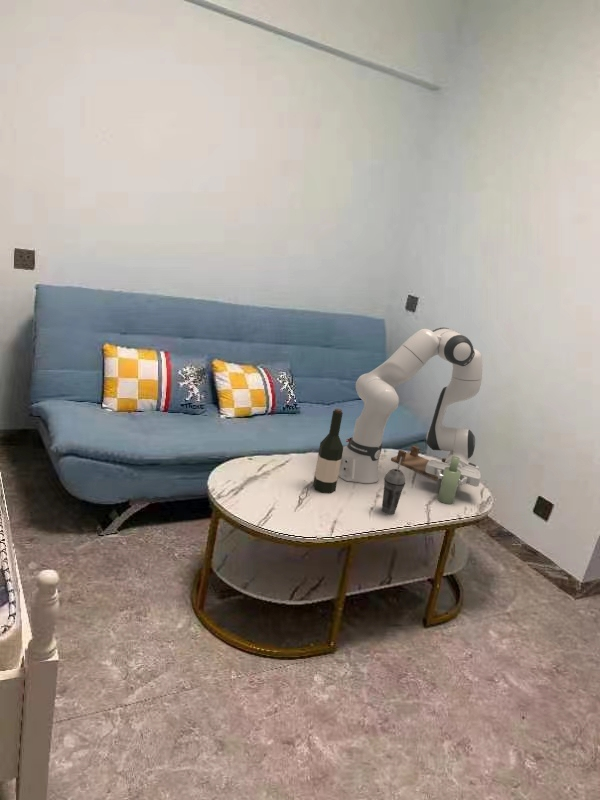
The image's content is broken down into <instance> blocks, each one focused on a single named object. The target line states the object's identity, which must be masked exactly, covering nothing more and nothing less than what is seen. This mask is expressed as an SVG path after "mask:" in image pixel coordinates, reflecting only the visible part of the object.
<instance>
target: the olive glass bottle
mask: <svg viewBox="0 0 600 800" xmlns="http://www.w3.org/2000/svg"><path fill="white" fill-rule="evenodd" d="M459 460H460V458H458V457H456V456H452V459H451V463H450V467H445V469H444V473H443V477H442V479H441V482H440V487H439V490H438V494H437V500H438V502H441V503H443V504H446V505H452V504H454V503H455V499H456V495H457V491H458V487H459V484H458V483H459V479H460V475H461V471H460V470H458V469H457V468H458V464H459Z"/></svg>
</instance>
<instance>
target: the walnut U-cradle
mask: <svg viewBox="0 0 600 800" xmlns="http://www.w3.org/2000/svg"><path fill="white" fill-rule="evenodd" d="M419 452H420V447H418V446H415V445H411V448H410V451H405V450H402V449H399V450H397V455H395V456H392V457H391V458H390V461H391V462H393V463H395V464H398V465H399V461H400V457H402V459H401V463H400V466H403V467H405V468H407V469H409V470H412V471H414V472H416V473H419V474H421V475H423V476H425V477H428V478H430V479H433V480H435V481H438V480H439V479H438V476H436V475H432V474H429V473H426V472H425V469H426V465H427V462H428V461H430V459H428V458H425V457H422V456H420V455H419ZM446 458H447V457H446ZM446 458H445V457H442V459H441V462H444V463H445V461H446Z"/></svg>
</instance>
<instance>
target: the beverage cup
mask: <svg viewBox="0 0 600 800" xmlns="http://www.w3.org/2000/svg"><path fill="white" fill-rule="evenodd" d="M401 459H402V457H400V461H399V464H398V466H397V468H393V469H390V470H389V471H387V472H386V474H385V476H384V478H383V481H384V482H383V483H384V484H383V485H384V487H383V495H382V503H381V511H382V513H383V514H386V515H391V516H393V515H395V513H396V511H397V508H398V505H399V501H400V499H401V495H402V493H403V492H402V491H403V490H404V488H405V485H406V476H405V474H404V472H403V471H402V470H401V469H400V466H401V465H400V463H401Z"/></svg>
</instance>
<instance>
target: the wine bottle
mask: <svg viewBox="0 0 600 800" xmlns="http://www.w3.org/2000/svg"><path fill="white" fill-rule="evenodd" d="M342 419H343V410H342V409H340V408H335V409H334V410H333V411H332V416H331V421H330V427H329V433H328V434H327V435H325V437H324V438H323V440H322V441H320V443H319V448H318V455H317V459H316V466H315V473H314V477H313V483H312V487H313V489H314V491H316V492H319V493H322V494H332V493H334V492H336V489H337V485H338V479H339V476H338V474H339V469H340V464H341V458H342V453H343V447H344V445H343V444H342V441H341V438H340V436H339V435H340V429H341V424H342V421H343V420H342Z"/></svg>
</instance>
